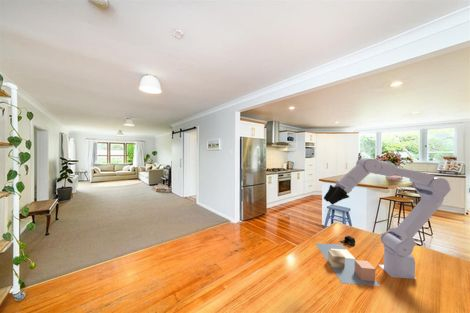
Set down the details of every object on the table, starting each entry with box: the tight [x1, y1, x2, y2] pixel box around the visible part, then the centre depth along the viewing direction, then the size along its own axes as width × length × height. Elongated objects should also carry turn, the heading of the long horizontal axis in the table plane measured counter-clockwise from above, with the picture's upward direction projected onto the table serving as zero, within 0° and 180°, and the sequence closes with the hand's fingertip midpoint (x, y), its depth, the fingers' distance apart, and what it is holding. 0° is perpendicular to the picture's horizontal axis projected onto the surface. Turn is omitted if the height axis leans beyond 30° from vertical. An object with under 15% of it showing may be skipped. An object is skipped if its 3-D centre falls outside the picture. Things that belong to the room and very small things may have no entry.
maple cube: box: [327, 250, 345, 268], centre depth 81 cm, size 5×5×5 cm
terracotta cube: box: [354, 259, 377, 281], centre depth 73 cm, size 5×5×5 cm
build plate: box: [339, 235, 356, 247], centre depth 99 cm, size 12×7×5 cm, turn 21°
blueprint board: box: [315, 242, 381, 287], centre depth 84 cm, size 14×30×1 cm, turn 174°
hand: (327, 201), depth 79 cm, fingers open, 7 cm apart
